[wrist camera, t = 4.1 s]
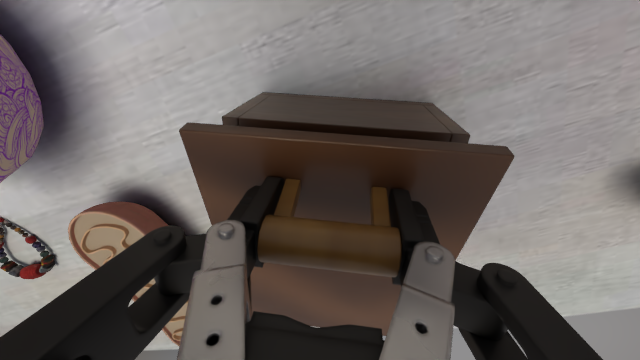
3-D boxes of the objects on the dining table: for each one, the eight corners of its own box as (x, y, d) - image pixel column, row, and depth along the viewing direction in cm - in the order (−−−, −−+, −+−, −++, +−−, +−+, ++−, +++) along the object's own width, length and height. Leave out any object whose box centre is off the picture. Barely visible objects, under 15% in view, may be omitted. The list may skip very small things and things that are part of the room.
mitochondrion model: (92, 201, 30) (48, 229, 26) (154, 170, 28) (116, 195, 23) (211, 324, 39) (193, 361, 35) (268, 311, 36) (256, 349, 32)
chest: (262, 91, 23) (221, 116, 16) (432, 103, 22) (471, 134, 14) (271, 246, 31) (246, 308, 24) (395, 259, 30) (409, 329, 23)
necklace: (25, 275, 38) (8, 285, 36) (-30, 207, 34) (-52, 215, 33) (69, 267, 37) (54, 278, 35) (16, 196, 33) (-4, 203, 31)
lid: (186, 121, 12) (107, 194, 8) (507, 145, 11) (585, 241, 7) (246, 308, 24) (224, 375, 20) (409, 329, 22) (419, 405, 19)
